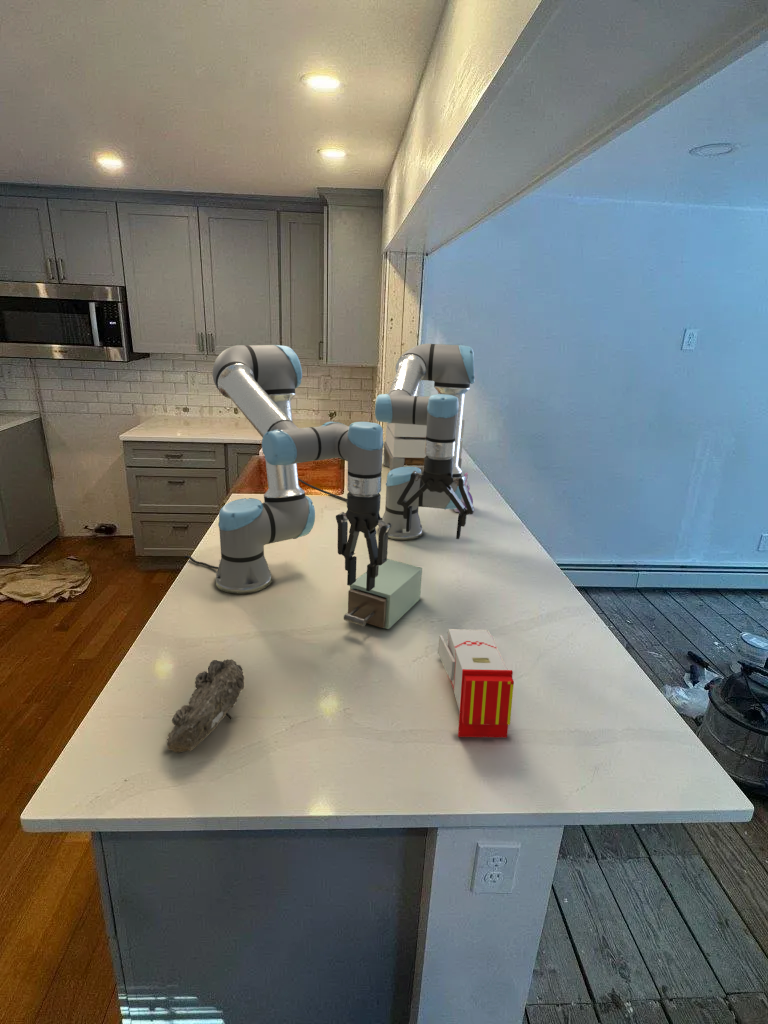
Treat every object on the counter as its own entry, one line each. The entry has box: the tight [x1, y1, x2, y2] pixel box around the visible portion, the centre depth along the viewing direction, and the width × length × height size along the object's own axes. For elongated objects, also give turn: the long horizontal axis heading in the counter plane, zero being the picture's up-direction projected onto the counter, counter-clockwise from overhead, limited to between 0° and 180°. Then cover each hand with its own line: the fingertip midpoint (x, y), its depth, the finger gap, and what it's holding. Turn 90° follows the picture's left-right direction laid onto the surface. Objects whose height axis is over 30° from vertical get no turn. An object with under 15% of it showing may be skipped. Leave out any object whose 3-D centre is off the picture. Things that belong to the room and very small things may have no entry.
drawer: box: [343, 588, 387, 629], centre depth 144 cm, size 23×10×8 cm, turn 152°
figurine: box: [452, 472, 474, 513], centre depth 225 cm, size 9×10×15 cm
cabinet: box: [349, 558, 423, 630], centre depth 149 cm, size 18×11×10 cm, turn 152°
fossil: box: [166, 658, 245, 754], centre depth 106 cm, size 22×10×15 cm
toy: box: [437, 628, 515, 738], centre depth 117 cm, size 12×13×30 cm
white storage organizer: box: [382, 418, 465, 472], centre depth 268 cm, size 34×33×41 cm
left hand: (360, 585), depth 135 cm, fingers open, 4 cm apart
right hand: (433, 533), depth 152 cm, fingers open, 13 cm apart
